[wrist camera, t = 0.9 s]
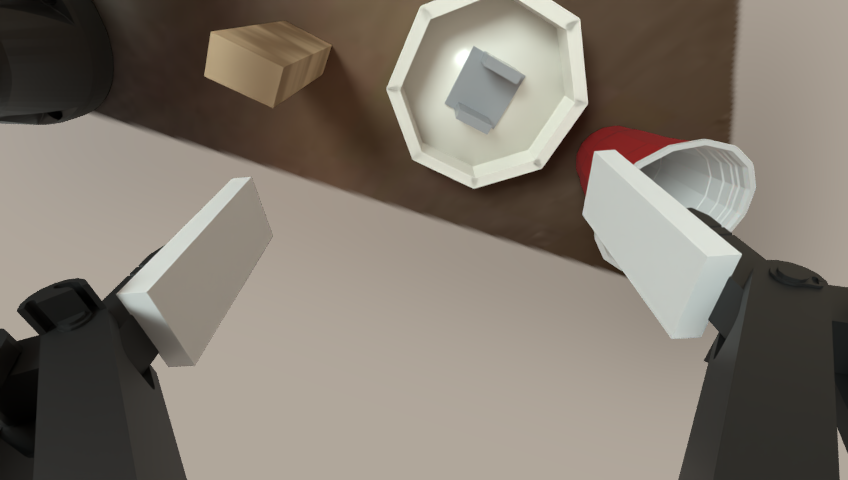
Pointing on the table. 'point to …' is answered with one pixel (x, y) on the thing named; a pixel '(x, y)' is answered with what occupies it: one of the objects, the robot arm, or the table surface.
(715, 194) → the plastic cup
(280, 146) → the table surface
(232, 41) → the long cardboard-colored beam
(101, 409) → the robot arm
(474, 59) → the white octagonal tray
